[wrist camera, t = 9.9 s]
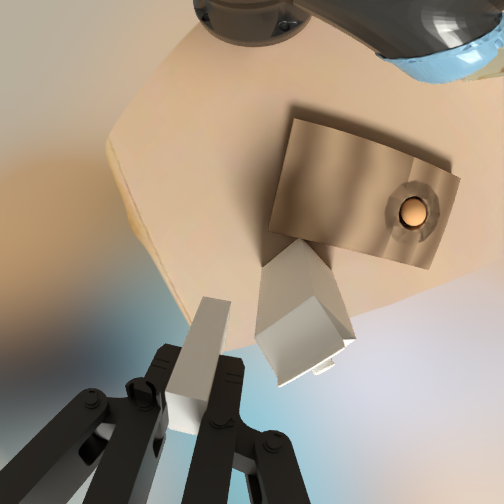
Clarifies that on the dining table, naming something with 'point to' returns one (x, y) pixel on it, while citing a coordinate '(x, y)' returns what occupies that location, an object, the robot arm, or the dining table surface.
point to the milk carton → (300, 314)
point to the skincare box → (489, 68)
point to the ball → (413, 212)
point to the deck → (359, 195)
